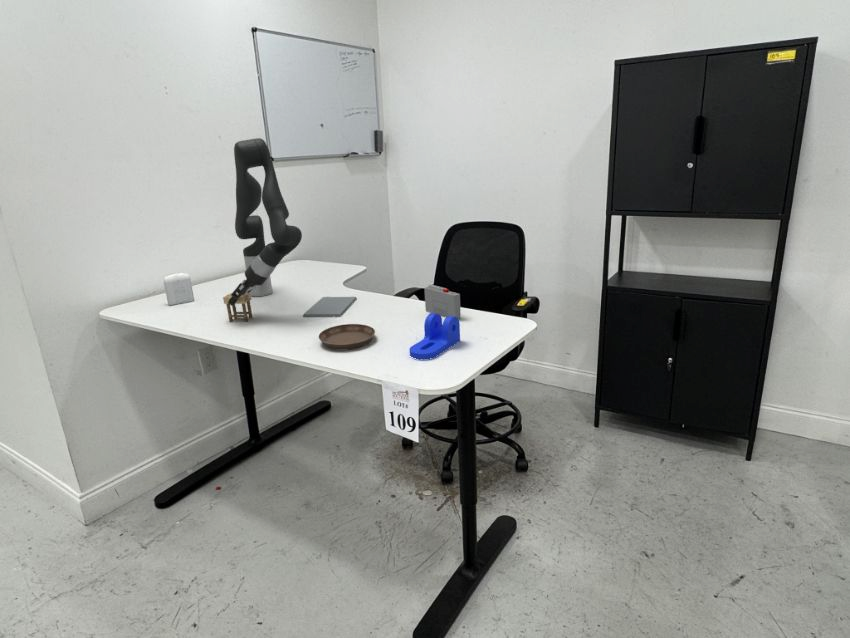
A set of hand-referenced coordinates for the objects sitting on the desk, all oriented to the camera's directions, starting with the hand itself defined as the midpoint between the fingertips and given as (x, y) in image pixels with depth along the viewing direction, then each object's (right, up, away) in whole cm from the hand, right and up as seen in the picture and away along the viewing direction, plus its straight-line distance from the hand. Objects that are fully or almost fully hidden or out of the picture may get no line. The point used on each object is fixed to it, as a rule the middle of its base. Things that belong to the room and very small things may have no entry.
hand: (236, 300), depth 190 cm
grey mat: (+33, -2, +11) cm, 35 cm away
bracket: (+71, -16, -34) cm, 81 cm away
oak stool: (+1, -7, +2) cm, 7 cm away
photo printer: (-33, 0, +29) cm, 44 cm away
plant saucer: (+44, -14, -25) cm, 53 cm away
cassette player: (+75, -6, -5) cm, 75 cm away
